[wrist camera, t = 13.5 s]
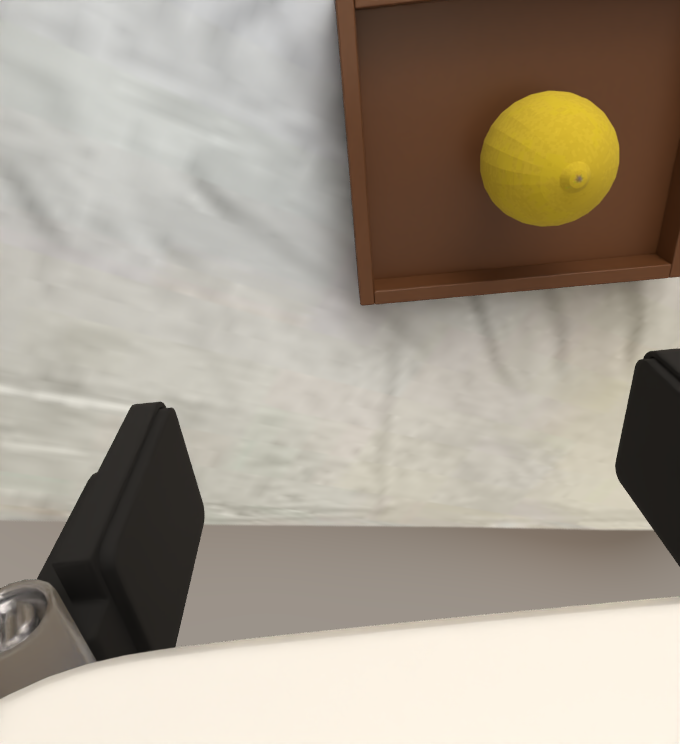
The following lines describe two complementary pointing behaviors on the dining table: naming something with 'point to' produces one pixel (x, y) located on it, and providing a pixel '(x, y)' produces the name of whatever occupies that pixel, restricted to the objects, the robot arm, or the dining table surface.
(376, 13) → the tray
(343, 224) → the dining table surface
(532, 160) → the lemon
